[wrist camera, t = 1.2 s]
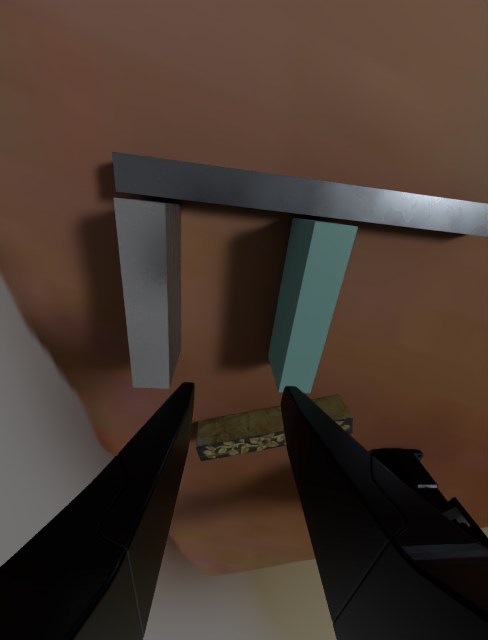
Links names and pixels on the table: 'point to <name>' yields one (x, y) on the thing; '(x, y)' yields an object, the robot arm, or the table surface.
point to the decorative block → (257, 429)
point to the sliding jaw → (307, 299)
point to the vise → (243, 191)
